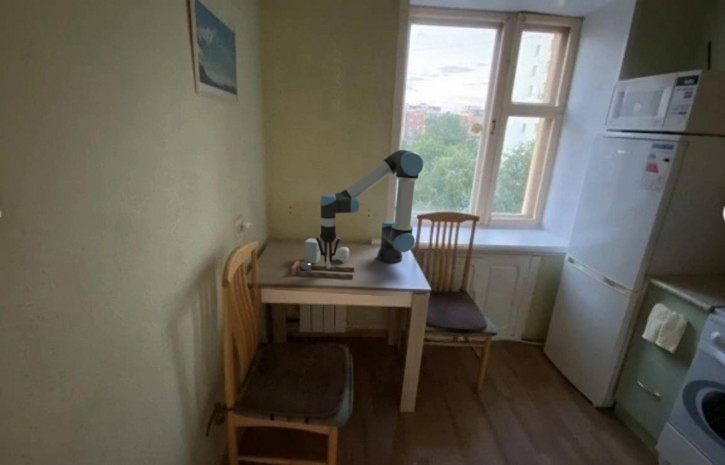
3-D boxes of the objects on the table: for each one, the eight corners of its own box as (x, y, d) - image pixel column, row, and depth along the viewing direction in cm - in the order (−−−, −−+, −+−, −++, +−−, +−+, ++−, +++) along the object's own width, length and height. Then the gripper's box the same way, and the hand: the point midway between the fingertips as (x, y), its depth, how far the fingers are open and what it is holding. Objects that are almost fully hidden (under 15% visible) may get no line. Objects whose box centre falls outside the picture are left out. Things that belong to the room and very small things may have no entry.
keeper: (312, 270, 184) (312, 261, 183) (309, 274, 179) (309, 265, 177) (301, 269, 185) (301, 260, 184) (298, 273, 179) (298, 264, 178)
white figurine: (347, 249, 193) (327, 248, 195) (348, 263, 195) (328, 262, 198) (349, 245, 199) (330, 245, 201) (350, 259, 201) (331, 258, 204)
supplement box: (316, 263, 193) (316, 242, 189) (304, 262, 194) (304, 241, 191) (320, 259, 200) (320, 239, 196) (308, 257, 201) (308, 237, 197)
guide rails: (354, 270, 186) (354, 267, 185) (352, 278, 176) (352, 275, 175) (299, 267, 187) (299, 264, 186) (295, 275, 177) (295, 271, 176)
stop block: (299, 267, 187) (299, 260, 186) (295, 275, 177) (295, 268, 176) (296, 267, 187) (296, 260, 186) (291, 275, 177) (291, 267, 176)
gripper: (341, 223, 177) (341, 265, 184) (316, 222, 177) (317, 264, 184) (340, 227, 170) (339, 270, 177) (314, 226, 170) (314, 269, 177)
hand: (328, 267), depth 181 cm, fingers closed
